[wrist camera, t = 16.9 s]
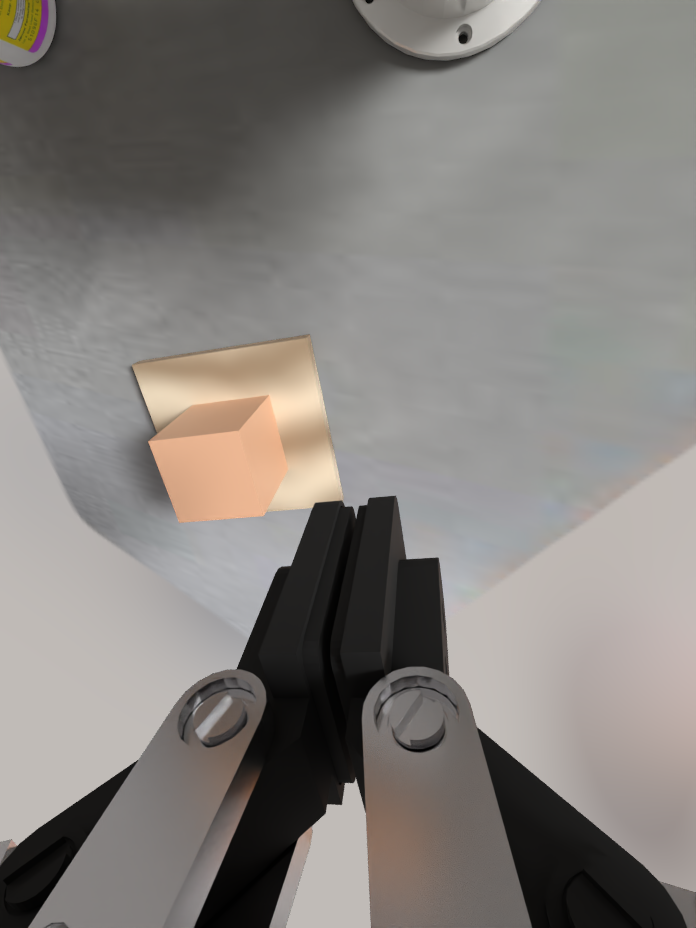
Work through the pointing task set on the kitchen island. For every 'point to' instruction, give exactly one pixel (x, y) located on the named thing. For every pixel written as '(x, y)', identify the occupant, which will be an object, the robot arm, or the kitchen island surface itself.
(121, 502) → the kitchen island surface
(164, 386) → the birch board
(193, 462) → the peach tan cube
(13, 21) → the supplement bottle
